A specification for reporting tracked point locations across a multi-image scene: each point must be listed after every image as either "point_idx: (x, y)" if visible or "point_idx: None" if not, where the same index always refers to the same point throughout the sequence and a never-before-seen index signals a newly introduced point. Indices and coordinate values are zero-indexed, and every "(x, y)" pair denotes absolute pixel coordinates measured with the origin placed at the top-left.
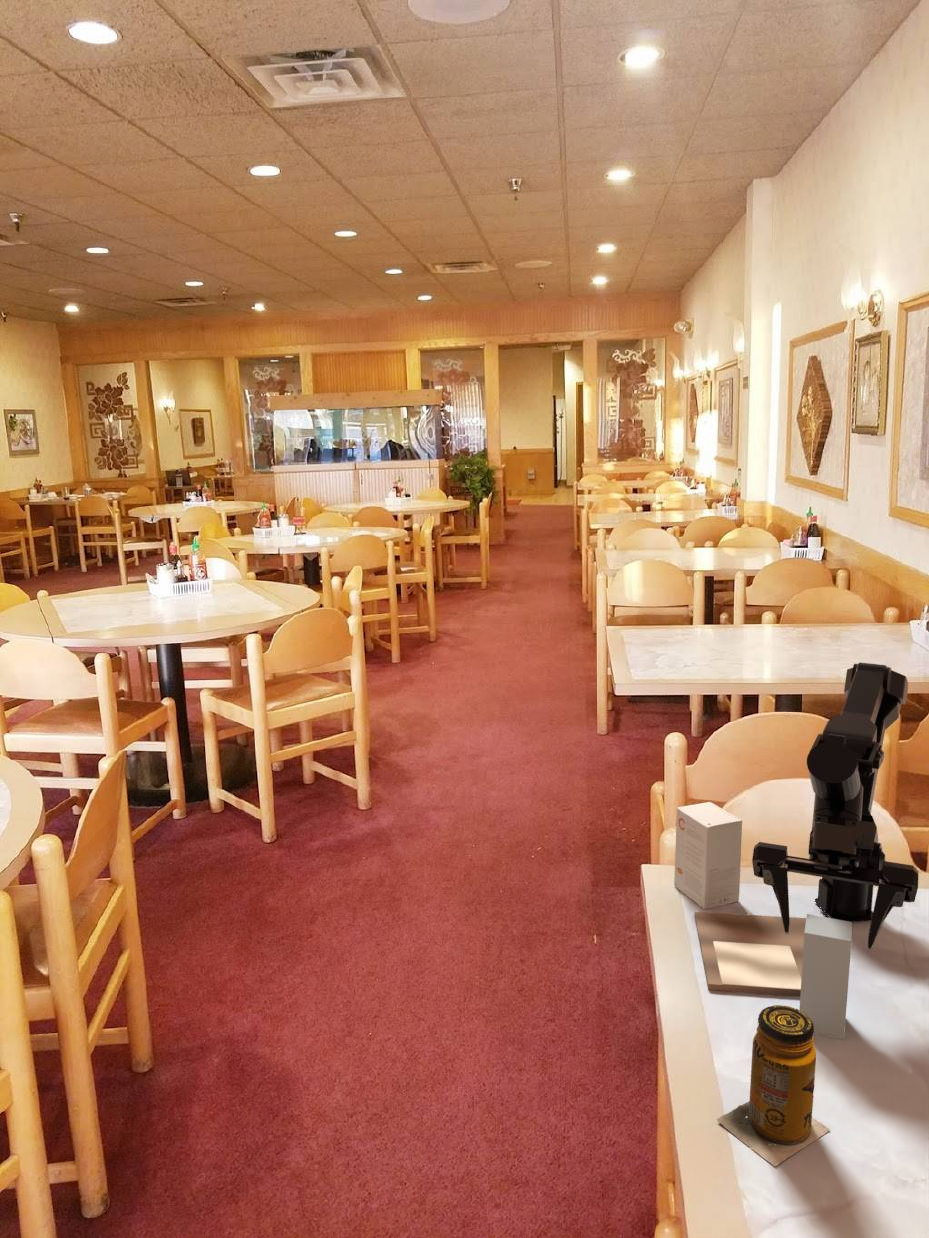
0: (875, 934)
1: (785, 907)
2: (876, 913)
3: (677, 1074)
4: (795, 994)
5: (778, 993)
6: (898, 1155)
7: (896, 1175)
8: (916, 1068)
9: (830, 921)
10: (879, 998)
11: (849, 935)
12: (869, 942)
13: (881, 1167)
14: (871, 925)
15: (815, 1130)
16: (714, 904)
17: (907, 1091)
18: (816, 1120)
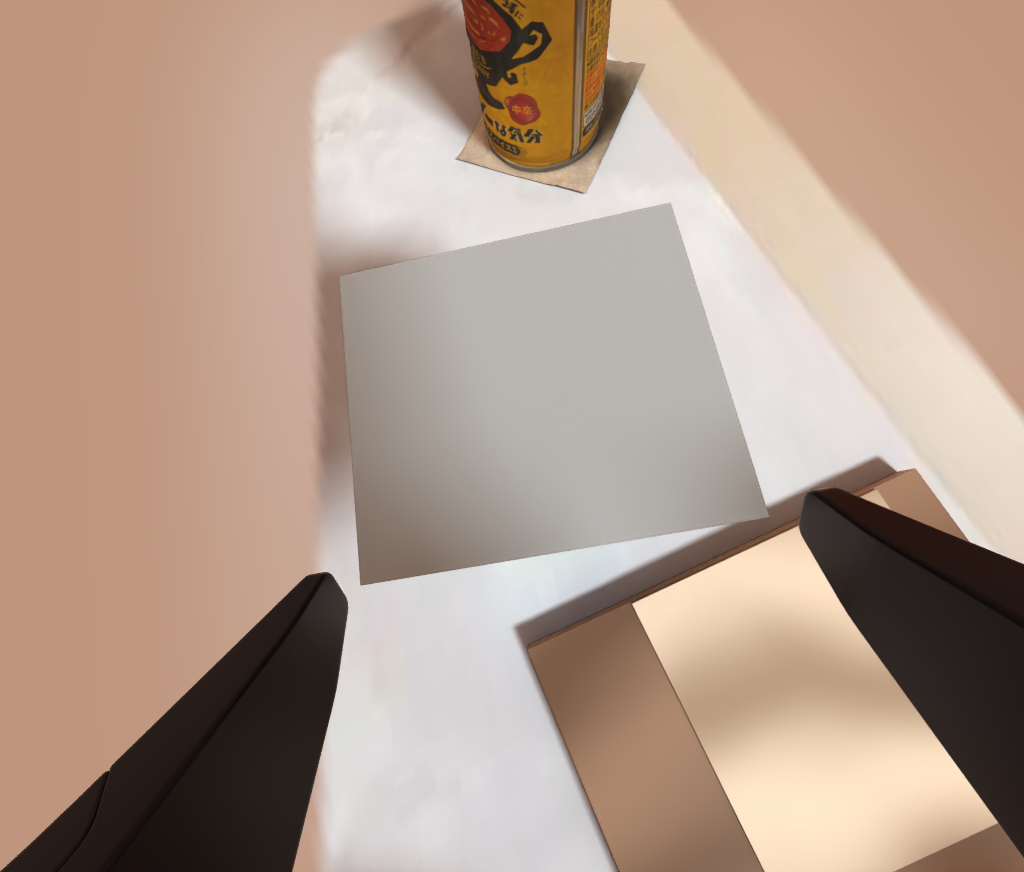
0: (245, 636)
1: (1019, 593)
2: (110, 828)
3: (773, 129)
4: (654, 586)
5: (701, 564)
6: (345, 173)
7: (346, 133)
8: (321, 428)
9: (534, 492)
10: (426, 713)
11: (359, 344)
12: (310, 587)
13: (368, 135)
14: (236, 685)
15: (480, 147)
16: None
17: (337, 341)
18: (483, 165)
